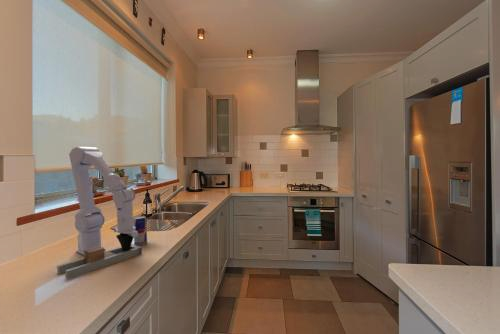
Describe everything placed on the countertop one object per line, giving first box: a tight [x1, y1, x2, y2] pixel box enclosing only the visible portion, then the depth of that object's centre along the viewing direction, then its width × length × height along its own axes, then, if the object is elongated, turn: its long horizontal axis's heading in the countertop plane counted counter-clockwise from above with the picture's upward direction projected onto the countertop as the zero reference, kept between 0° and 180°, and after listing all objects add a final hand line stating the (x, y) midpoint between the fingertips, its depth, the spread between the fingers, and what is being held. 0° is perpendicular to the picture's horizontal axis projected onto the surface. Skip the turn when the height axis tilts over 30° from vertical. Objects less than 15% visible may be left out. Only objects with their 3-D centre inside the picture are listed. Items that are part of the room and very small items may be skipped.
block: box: [83, 246, 115, 264], centre depth 94 cm, size 4×9×6 cm, turn 145°
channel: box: [56, 243, 143, 280], centre depth 95 cm, size 9×26×2 cm, turn 145°
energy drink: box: [133, 215, 148, 246], centre depth 116 cm, size 5×5×12 cm
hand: (126, 251), depth 102 cm, fingers closed
